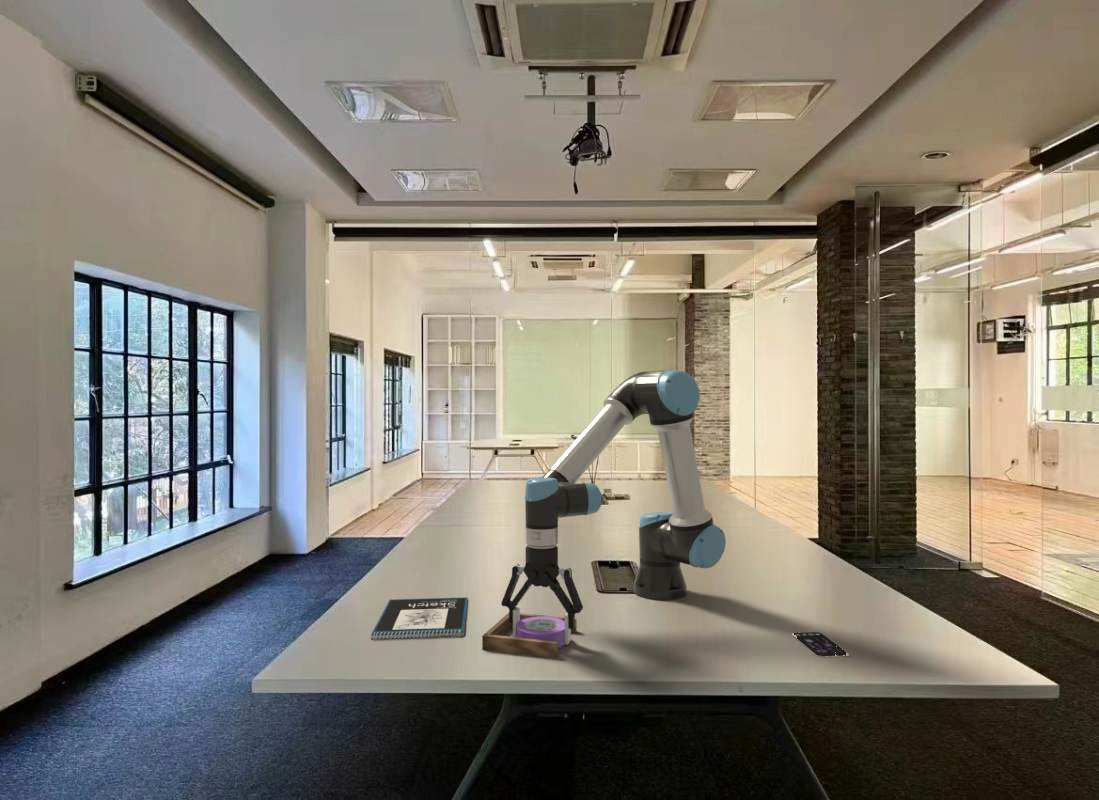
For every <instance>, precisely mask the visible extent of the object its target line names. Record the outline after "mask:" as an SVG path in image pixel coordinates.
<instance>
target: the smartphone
mask: <svg viewBox="0 0 1099 800" xmlns="http://www.w3.org/2000/svg"><path fill="white" fill-rule="evenodd" d="M793 633H794V635H796V636H797V638H796V637H795V638H796V640H797V641H798V642H799V641H800V642H801V643H802V645H803V646H804V647H805V646H806V647H807V648H808V649H807V648H806V647H805V648H806V649H807V650H808V651H810V652H811V651H812V652H813V653H814V654H813V653H812V652H811V653H812V654H813V655H815V656H816V655H817V656H816V657H818V656H820V657H819V658H832V657H831V656H835V654H836V655H837V656H843V655H845V656H846V652H847V651H846V650H845V649H844V648H842V647H841V646H840V645H839V644H837V643H836V642H835V641H833V640H832V639H830V638H829V637H828V636H826V635H825V634H824V633H822V632H818V631H806V632H805V631H804V632H803V631H802V632H801V633H799V632H797V631H796V632H793ZM795 638H794V639H795ZM800 642H799V643H800ZM836 646H837V647H836ZM842 649H843V650H842ZM845 651H846V652H845ZM835 652H836V653H835ZM826 656H828V657H826Z"/></svg>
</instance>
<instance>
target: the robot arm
mask: <svg viewBox="0 0 1099 800" xmlns="http://www.w3.org/2000/svg"><path fill="white" fill-rule="evenodd" d="M700 393H701V392H700V389H699V386H698V384H697V381H696V380H695V379H694V378H693V376H692V375H691V374H689V373H688V372H687V371H683V370H676V369H675V370H674V369H665V370H663V369H662V370H654V371H653V370H652V371H640V372H637V373H634V374H633V375H630V376H629V377H628V378H626V379H625V380H623V381H622V382H621V383H620V384H619V385H618V386H616V388H615V389H614V390H613V391H612V392H611V393H609V395H608V396H606V398H605V400H603V408H602V409H601V410H600V411H599V412H598V413H597V415H595V416H594V418H593V419H592V420H591V421H590V422H589V423H588V424H587V425H586V427H584V429H583V430H582V431H581V433H580V434H578V436H577V437H576V438H575V439H574V440H573V441H572V443H571V444H570V445H569V446H568V447H567V449H566V450H565V451H564V452H563V453H562V454H561V455H560V456H559V458H558V459H557V460H556V461H555V462H554V463H553V464H552V466H551V467H550V468H549V469H548V470H547V471H546V473H544V475H543V476H538V477H532V478H529V479H528V480H527V481H526V483H525V494H524V500H525V503H524V504H525V505H524V506H525V507H524V508H525V544H526V547H525V564H524V565H520V564H519V563H518V564H515V565H514V566H512V567H511V577H510V579H509V582H508V585H507V586H506V590H505V592H504V595H503V598H502V600H501V606H503V607H506V608H508V611H509V612H508V613H509V621H510V623H513V626H512V637H517V623H518V622H519V621H520V613H521V607H520V606H518V604H519V603H520V601H521V600H522V599H523V597H524V596H525V595H526V593H527V592H528V591H529V589H530V587H532V585H533V587H543V588H549V589H550V590H551V591H552V592H553V593H554V595H555V596H556V597H557V599H558V601H559V602H560V604H561V605H562V607H563V608H564V610H565V612H566V613H565V614H564V617H565V645H569V643H570V642H571V641H572V632H571V629H573V628H574V626H575V618H576V614H580V613H581V611H582V610H584V606H583V603H582V601H581V598H580V596H579V593H578V590H577V587H576V585H575V582H574V580H573V570H572V568H571V567H568V568H566V569H564V568H560V567H559V547H558V546H557V545H558V543H559V519H561V518H567V517H577V516H579V517H580V516H588V515H592V514H596V513H597V512H598V511H599V510H600V509H601V507H602V502H603V501H602V493H601V490H600V488H599V487H598V485H597V484H595V483H592V482H588V483H587V482H582V483H577V482H578V480H579V479H581V477H582V476H583V475H584V474H585V472H586V471H587V470H588V469H589V468H590V467H591V465H593V463H594V461H595V460H596V459H597V458H598V457H599V456H600V455H601V454H602V452H604V450H605V449H606V447H607V446H608V445H609V444H610V443H611V442H612V440H614V439H615V437H616V436H617V435H618V434H619V432H620V431H621V430H622V429H623V428H624V427H625V426H628V425H631V424H632V422H634V420H635V419H636V418H638V417H640V416H642V415H648V418H649V424H650V425H651V427H653V428H654V429H656V430H657V434H658V440H659V445H660V449H661V455H662V461H663V468H664V472H665V477H666V482H667V488H668V493H669V497H670V504H671V510H672V511H660V512H651V513H645V514H642V515H641V516H640V518H639V527H638V533H639V534H638V538H639V540H638V541H639V542H638V543H639V545H638V546H639V566H638V570H637V572H636V575H635V579H634V582H633V593H634V594H635V595H637V596H640V597H642V598H647V599H652V600H676V599H680V598H683V597H686V595H687V584H686V580H685V577H684V574H683V571H682V568H681V564H684V565H689V566H691V567H693V568H699V569H710V568H713V567H714V566H716V565H717V563H719V561H720V560H721V559H722V556H723V555H724V552H725V550H726V544H727V543H726V534H725V532H724V531H723V529H722V528H720V526H718V525H716V524H714V519H713V514H712V512H710V511H709V510H708V509H706V507H705V502H704V495H703V491H702V486H701V480H700V474H699V467H698V462H697V458H696V452H695V447H694V442H693V435H692V431H691V423H692V421H693V420H694V419H695V415H694V412H695V411H696V410H697V408H698V406H699V403H700V399H701V398H700V397H701V396H700ZM523 573H524V575H525V576H526V578H527V579H526V581H525V582H524V584H523V585H522V587H521V588H520V590H519V591H518V593H517V594H515V597H514V598H513V599H512V597H513V594H514V592H515V589H516V586H517V584H518V581H519V579H520V576H521V575H522V574H523ZM558 576H561V579H562V580H564V584H565V587H566V590H567V591H568V595H569V597H568V595H567V594H566V592H565V590H564V589H563V588H562V586H561V583H560V582H559V580H558V578H557V577H558ZM569 598H570V599H569ZM511 599H512V600H511Z"/></svg>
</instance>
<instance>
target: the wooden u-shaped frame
mask: <svg viewBox="0 0 1099 800" xmlns="http://www.w3.org/2000/svg"><path fill="white" fill-rule="evenodd" d="M540 616H545V617H554V618H558V619H561V620H563V621H565V616H553V615H543V614H532V613H531V614H530V613H524V612H523V613H522V612H520V621H521V620H523V619H526V618H530V617H540ZM577 623H578V621H577V618H576V617H575V626H574V628H573V629H571V633H573V632H574V633H576V632H577V631H578V630H577V628H578V627H577V625H578V624H577ZM511 628H513V623H510V621H509V612H508V613H507V614H505V615H504V616H503V617H502V618H501V619H500V620H498V622H497V623H495V624H494V625H493V626H491V628H490V629H488V630H487V631H486V632H485V633H484V634H483V635H481V636H482V639H481V642H482V644H481V645H482V648H481V649H482V650H486V651H494V652H504V653H513V654H521V655H522V654H523V655H531V656H537V655H538V656H539V657H545V658H546V657H548V658H554V659H556V658H557V657H558V656H559V648H558V642H555V641H546V640H536V639H527V638H518V637H513V636H507V635H505V634H506V633H507V632H508V631H510V629H511Z"/></svg>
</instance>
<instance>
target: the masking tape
mask: <svg viewBox="0 0 1099 800" xmlns="http://www.w3.org/2000/svg"><path fill="white" fill-rule="evenodd" d="M545 616H546V615H545ZM545 616H540V617H530V618H526V619H523V620H521V621H519V622H518V623H517V637H518V638H527V639H536V640H546V641H555V642H558V649H559V648H561V647H563V646H565V645H566V644H565V621H563V620H561V619H558V618H554V617H545Z"/></svg>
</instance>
